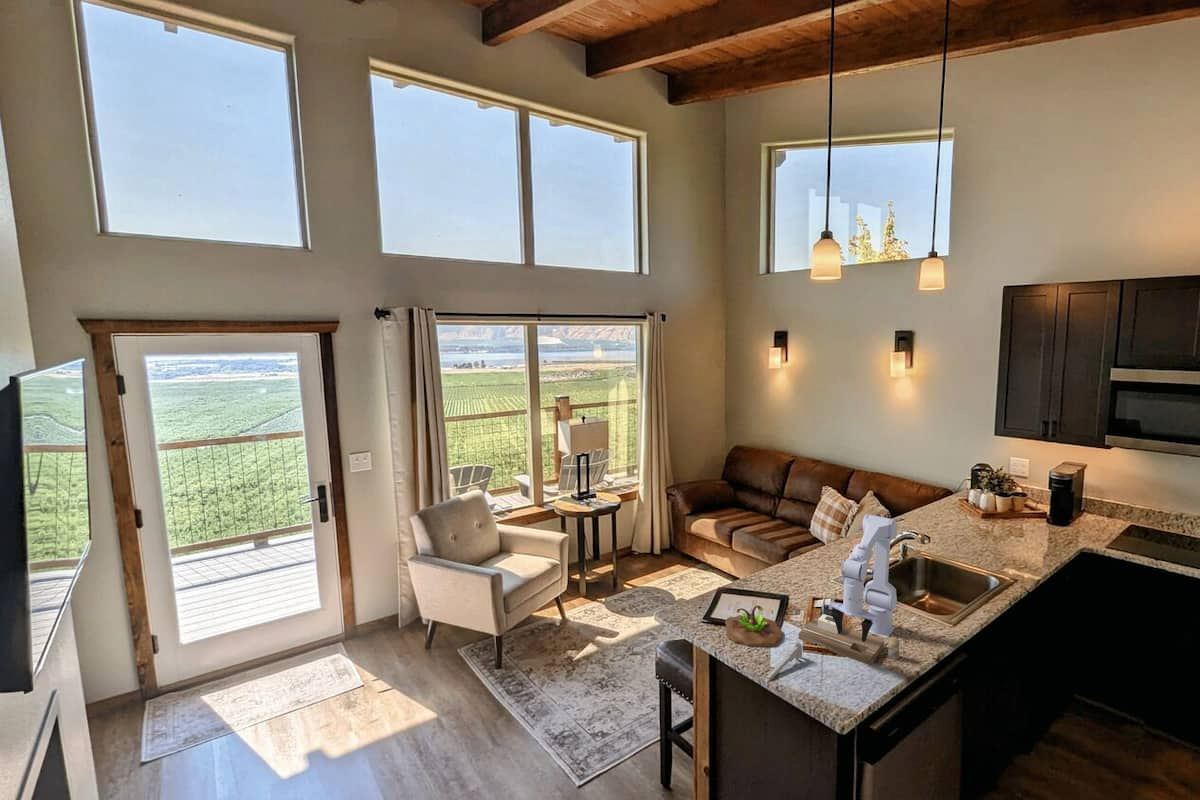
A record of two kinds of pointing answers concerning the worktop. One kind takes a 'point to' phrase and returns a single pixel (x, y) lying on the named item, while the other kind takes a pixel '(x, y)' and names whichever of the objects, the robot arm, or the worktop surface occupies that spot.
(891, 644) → the peg
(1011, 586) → the worktop surface
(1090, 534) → the worktop surface
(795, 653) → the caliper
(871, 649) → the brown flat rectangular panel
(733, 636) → the plant
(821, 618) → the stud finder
